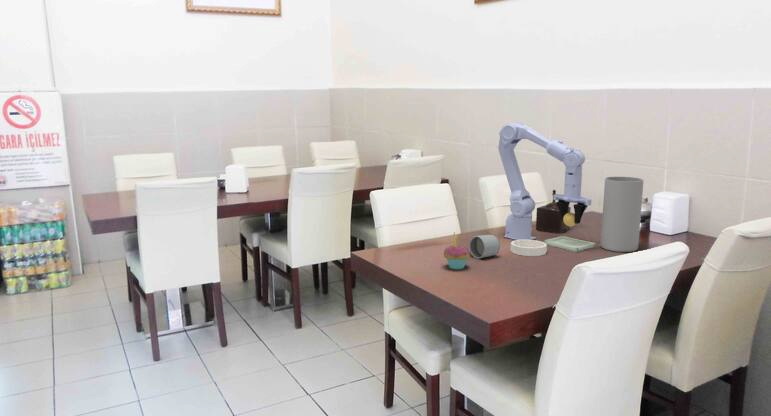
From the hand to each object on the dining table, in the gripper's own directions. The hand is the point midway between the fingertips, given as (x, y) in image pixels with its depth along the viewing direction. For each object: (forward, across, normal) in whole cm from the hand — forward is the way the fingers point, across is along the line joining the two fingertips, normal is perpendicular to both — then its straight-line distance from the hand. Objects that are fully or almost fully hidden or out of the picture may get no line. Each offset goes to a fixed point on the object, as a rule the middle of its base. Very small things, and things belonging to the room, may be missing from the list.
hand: (570, 222), depth 209 cm
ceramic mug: (+9, -10, -35) cm, 37 cm away
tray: (+9, 0, 0) cm, 9 cm away
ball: (-1, 0, 0) cm, 1 cm away
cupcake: (+9, -6, -51) cm, 52 cm away
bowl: (+9, -4, -18) cm, 20 cm away
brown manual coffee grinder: (+9, -20, +19) cm, 29 cm away
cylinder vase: (+9, +13, +11) cm, 19 cm away
